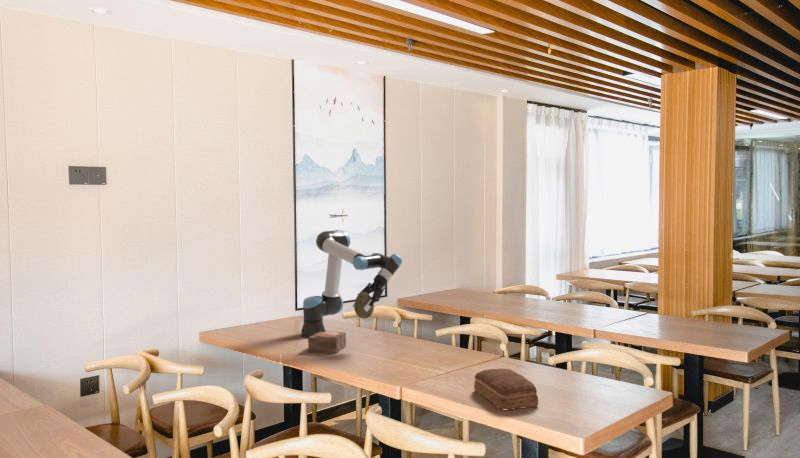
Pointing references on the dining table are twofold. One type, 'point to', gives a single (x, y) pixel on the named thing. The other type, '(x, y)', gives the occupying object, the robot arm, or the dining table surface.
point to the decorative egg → (363, 305)
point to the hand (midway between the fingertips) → (359, 308)
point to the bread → (506, 388)
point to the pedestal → (327, 342)
